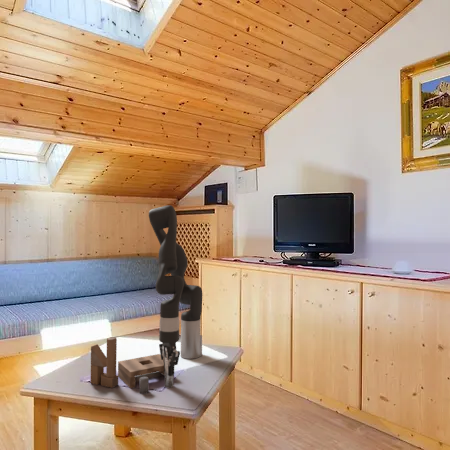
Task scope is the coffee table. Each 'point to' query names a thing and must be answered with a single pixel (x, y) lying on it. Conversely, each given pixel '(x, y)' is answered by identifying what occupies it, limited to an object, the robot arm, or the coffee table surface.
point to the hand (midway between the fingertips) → (168, 373)
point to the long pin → (168, 378)
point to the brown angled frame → (104, 364)
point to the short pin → (143, 385)
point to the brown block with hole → (139, 368)
